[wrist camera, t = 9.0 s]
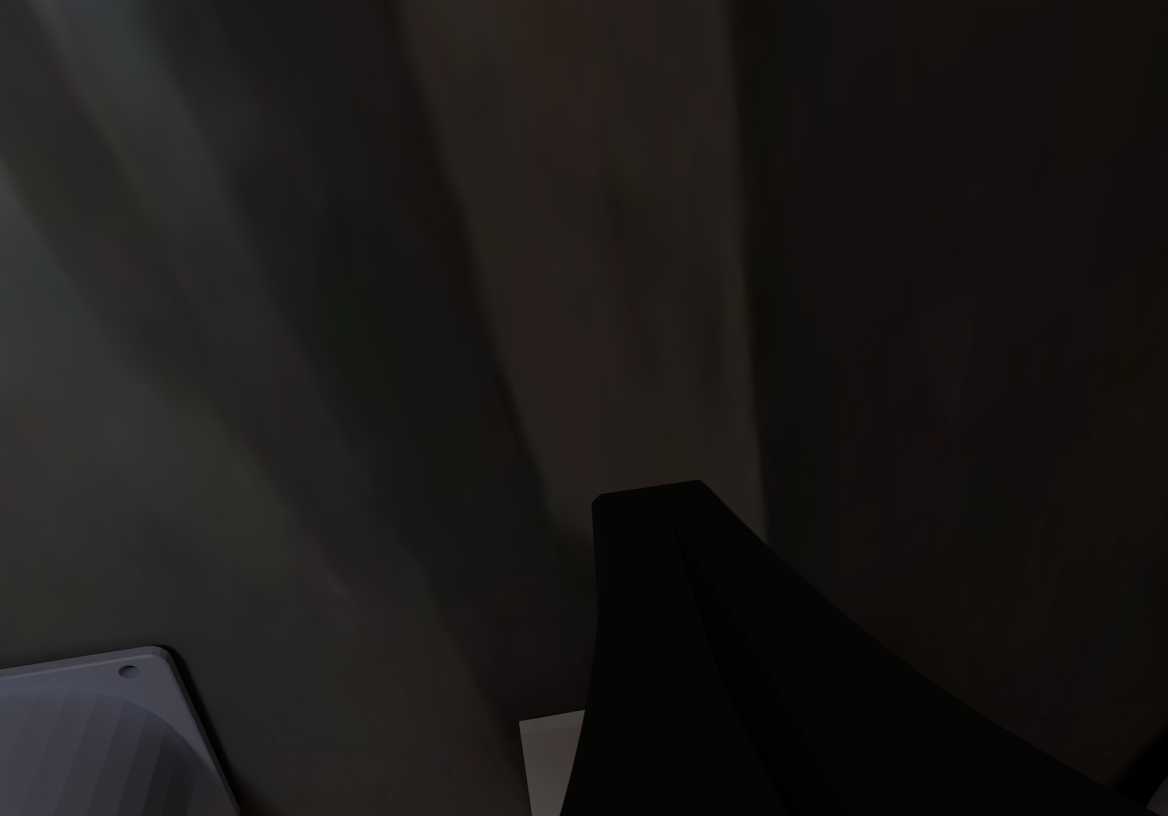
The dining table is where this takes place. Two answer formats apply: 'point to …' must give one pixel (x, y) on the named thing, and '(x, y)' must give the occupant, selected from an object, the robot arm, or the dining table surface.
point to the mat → (549, 758)
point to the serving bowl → (1160, 800)
